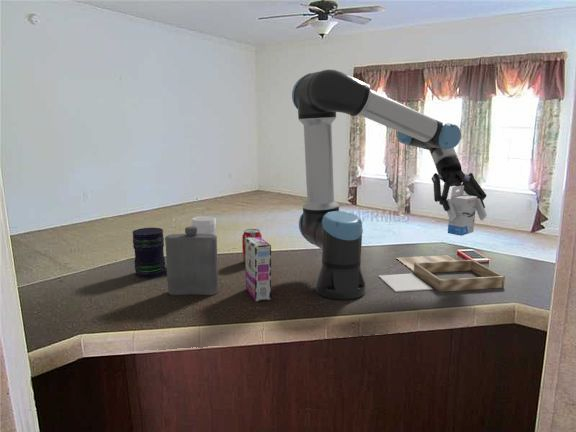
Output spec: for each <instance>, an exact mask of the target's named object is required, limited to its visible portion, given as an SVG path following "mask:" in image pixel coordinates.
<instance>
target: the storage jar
mask: <svg viewBox="0 0 576 432" xmlns="http://www.w3.org/2000/svg"><path fill="white" fill-rule="evenodd" d="M164 237H165V236H164V229H163V228H160V227H144V228H143V227H142V228H138V229H134V230H133V231H132V245H133V246H132V247H133V249H134V262H133V263H134V271H135V277H136V278H138V279H142V280H147V279H148V280H150V279H157V278H160V277H163V276H165V274H166V256H165V255H164V254H165V253H164V252H165V251H164V247H165V242H164V241H165V238H164Z"/></svg>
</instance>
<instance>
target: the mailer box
mask: <svg viewBox="0 0 576 432" xmlns="http://www.w3.org/2000/svg"><path fill="white" fill-rule="evenodd" d="M395 259H396V260H397V259H398V260H399V261H398V260H397V261H398V262H400V261H401V262H402V263H403V264H402V263H401V262H400V263H401V264H402V265H404V266H405V265H406V266H407V267H406V266H405V267H406V268H408V269H409V268H410V269H411V271H412V272H413V274H414V275H415V276H417V277H418V278H419V279H421V280H422V281H423V282H425V283H426V284H427V285H429V286H430V287H431V288H432V287H433V289H435V290H436V291H437V292H440V293H441V292H457V291H471V290H483V289H484V290H485V289H486V290H487V289H499V288H501V289H502V288H504V287H505V280H506V276H505V275H503V274H501V273H499V272H497V271H495V270H493V269H491V268H489V267H487V266H486V265H483V264H482V263H481V262H480V263H479V262H477V261H476V260H474V259H463V260H457V259H455V258H453V257H451V256H449V255H447V254H444V255H443V254H442V255H421V256H406V257H405V256H403V257H401V256H400V257H395ZM410 269H409V270H410ZM459 271H460V272H463V271H464V272H465V271H471V272H473V273H475V274H477V275H478V277H464V278H463V277H461V278H460V277H459V278H448V279H447V278H446V279H441V278H439V277H438V276H436V275H435V274H433V273H445V272H459Z"/></svg>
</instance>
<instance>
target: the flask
mask: <svg viewBox="0 0 576 432" xmlns="http://www.w3.org/2000/svg"><path fill="white" fill-rule="evenodd" d="M184 232H185V233H173V234H168V235H165V236H164V237H165V238H164V241H165V242H164V245H165V263H166V273H167V275H166V277H167V293H168V294H169V296H185V295H187V296H188V295H195V296H196V295H197V296H199V295H200V296H214V295H217V294H218V293H219V268H218V261H217V259H218V239H217V235H216V234H214V235H213V234H198V233H197V228H196V227H194V226H192V225H190V226H186V227H185V228H184Z"/></svg>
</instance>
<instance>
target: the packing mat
mask: <svg viewBox="0 0 576 432" xmlns="http://www.w3.org/2000/svg"><path fill="white" fill-rule="evenodd" d="M378 278H380V279H381V280H382V281H383V282H384V283H385V285H388V287H389V288H390V289H392V291H394V293H401V292H402V293H403V292H419V291H421V292H422V291H432V290H433V289H434V287H433V288H432V286H431V285H429V284H428V283H427V282H425V281H424V280H423V279H421V278H420V277H419V276H417V275H416V274H415V273H414V272H413V273H399V274H396V273H395V274H381V275H380V274H379V275H378Z"/></svg>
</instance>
